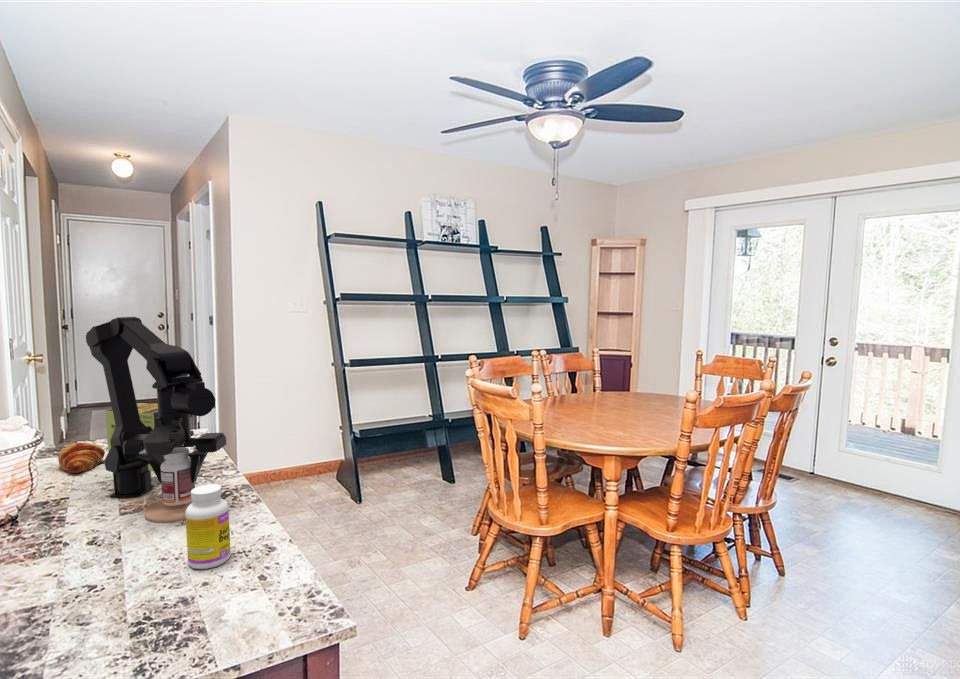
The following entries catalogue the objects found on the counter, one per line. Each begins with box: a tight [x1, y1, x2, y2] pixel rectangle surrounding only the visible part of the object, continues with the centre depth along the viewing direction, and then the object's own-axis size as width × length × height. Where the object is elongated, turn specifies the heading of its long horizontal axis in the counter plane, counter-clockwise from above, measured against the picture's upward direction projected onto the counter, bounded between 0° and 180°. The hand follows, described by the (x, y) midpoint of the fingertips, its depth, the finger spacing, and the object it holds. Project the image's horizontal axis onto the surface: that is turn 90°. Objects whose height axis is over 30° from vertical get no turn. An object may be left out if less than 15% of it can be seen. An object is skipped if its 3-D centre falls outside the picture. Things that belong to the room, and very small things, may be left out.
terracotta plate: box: [143, 499, 193, 524], centre depth 116 cm, size 13×13×1 cm
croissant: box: [57, 442, 106, 474], centre depth 146 cm, size 21×10×8 cm, turn 33°
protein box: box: [105, 402, 186, 472], centre depth 146 cm, size 10×15×16 cm
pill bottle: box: [160, 447, 196, 506], centre depth 115 cm, size 6×6×11 cm
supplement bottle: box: [185, 483, 232, 570], centre depth 93 cm, size 7×7×13 cm
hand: (178, 482), depth 115 cm, fingers closed on pill bottle, 6 cm apart
